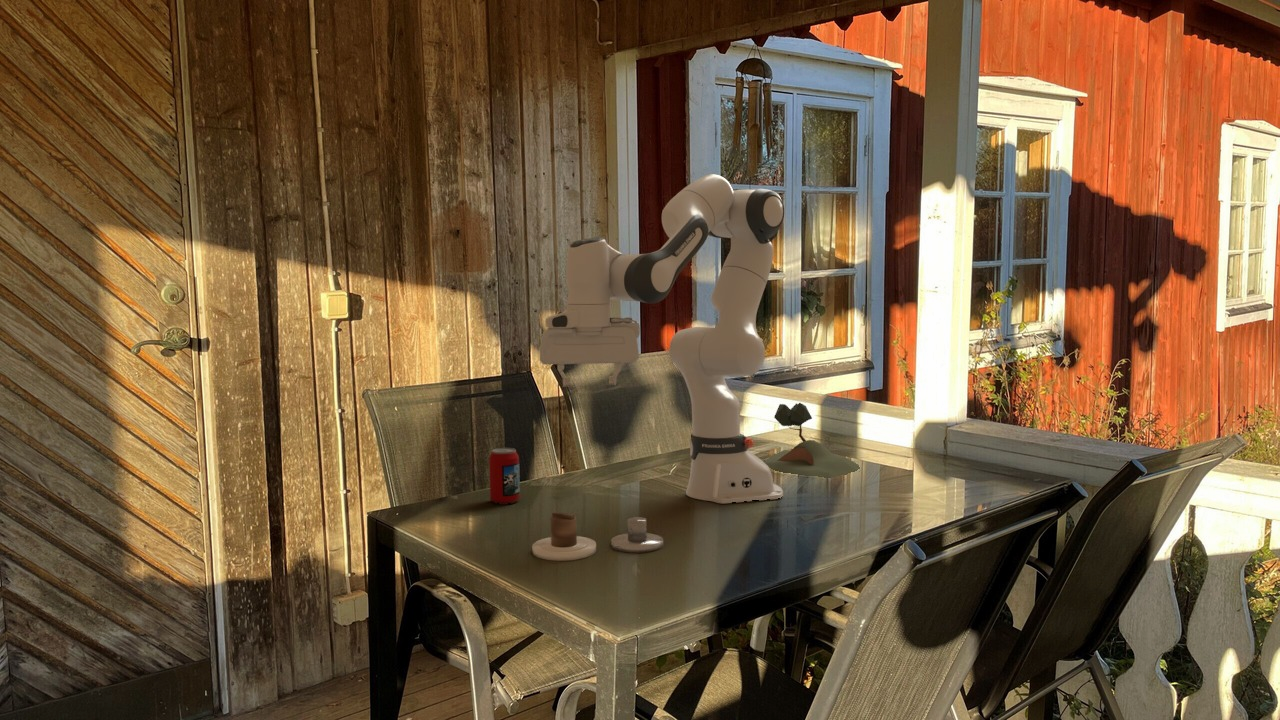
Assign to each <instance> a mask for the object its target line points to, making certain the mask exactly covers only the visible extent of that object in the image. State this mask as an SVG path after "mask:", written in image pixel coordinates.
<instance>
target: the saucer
mask: <svg viewBox="0 0 1280 720" xmlns="http://www.w3.org/2000/svg"><path fill="white" fill-rule="evenodd" d="M596 552H597V542H596V541H595V540H594V539H592V538H589V537H584V536H580V535H577V544H576V545H575V546H572V547H563V548H561V547H554V546H552V545H551V536H550V537H545V538H541V539H538V540H536V541H534V542H533V544H532V554H533V556H534V557H536V558H538V559H541V560H542V559H543V560H547V561H558V562H560V561H561V562H562V561H563V562H565V561H575V560H581V559H584V558H589V557H591V556H593V555H594V554H596Z"/></svg>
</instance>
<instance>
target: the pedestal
mask: <svg viewBox="0 0 1280 720" xmlns="http://www.w3.org/2000/svg"><path fill="white" fill-rule="evenodd" d="M647 531H648V530H647V518H646V517H642V516H641V517H640V516H634V517H629V518H628V519H627V533H621V534H618V535H615V536H614V537H612V538H611V539H610V543H611V544H610V545H611V548H612V549H614V550H615V551H619V552H622V553H623V552H624V553H632V554H633V553H634V554H639V553H640V554H641V553H650V552H654V551H659V550H660V549H662V548H663V547H664V538H663V537H662V536H661V535H659V534H655V533H654V534H653V533H649V532H647Z"/></svg>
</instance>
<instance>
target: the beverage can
mask: <svg viewBox="0 0 1280 720" xmlns="http://www.w3.org/2000/svg"><path fill="white" fill-rule="evenodd" d="M488 461H489V467H488V468H489V469H488V470H489V496H490V497H489V499H490V500H491V501H492V502H494V503H495V504H497V503H499V504H498V505H509V504H508V503H511V504H513V503H516V502H517V501H518V500H519V499H520V498H521V497H520V496H521V495H520V494H521V488H520V487H521V486H520V485H521V484H520V483H521V482H520V479H521V478H520V456H519V454H518V452H517V449H515V448H514V447H500V448H499V447H498V448H493V449H492V451H491V454H490V455H489V459H488Z"/></svg>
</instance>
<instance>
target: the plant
mask: <svg viewBox="0 0 1280 720" xmlns="http://www.w3.org/2000/svg"><path fill="white" fill-rule="evenodd" d="M773 418H774V419H775V420H776V421H777V422H778V423H779V424H780V425H781V426H782V427H788V428H789V429H790V430H795V431H799V432H798V437H799V438H800V439H801V442H799V443H798V444H797V445H796V446H794V447H793V448H789V449H784V450H781V452H780V451H778V452H779V453H778V452H776V453H777V454H775V453H773V454H774V455H773V454H771V455H772V456H771V455H769V456H770V457H769V456H768V457H769V459H767V460H766V461H764V460H763V461H764V463H765V464H766V465H767V466H768V467H769V468H771V469H773V470H775V471H779V472H783V473H791V474H798V475H805V476H818V477H824V478H831V477H836V476H840V475H847V474H848V473H851V472H855V471H857V470H858V469H860V467H861V466H860V467H859V465H860V464H858V463H857V462H854V461H853V460H852V459H850V458H848V457H846V456H844V455H843V456H842V455H838V454H836V453H832V452H831V451H830V450H829V449H828V448H827V447H826V446H824V445H823V444H822V443H820V442H818V441H816V440H815V439H813V440H812V439H808V440H806V439H805V438H804V437H803V434H802V433H803V428H802V425H803V424H805V423H806V422H808V421H810V420H812V418H813V417H812V415H811V414H810V411H809V410H808V407H807V406H806V405H805V404H803V403H801V402H799V403H797V402H796V403H795V404H794V405H793V406H792V407H791V408H789V406H788V405H786V404H784V403H779V405H778V407H777V409H776V412H775V414H774V416H773ZM792 426H794V427H799V428H792ZM851 460H852V461H851ZM856 463H857V464H856Z"/></svg>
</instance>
